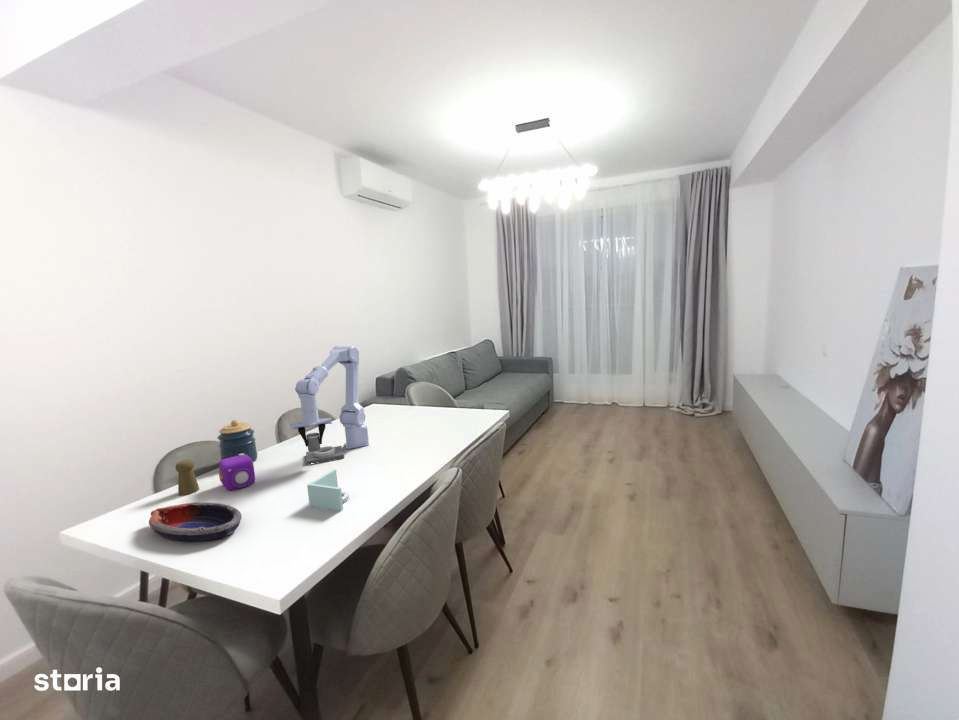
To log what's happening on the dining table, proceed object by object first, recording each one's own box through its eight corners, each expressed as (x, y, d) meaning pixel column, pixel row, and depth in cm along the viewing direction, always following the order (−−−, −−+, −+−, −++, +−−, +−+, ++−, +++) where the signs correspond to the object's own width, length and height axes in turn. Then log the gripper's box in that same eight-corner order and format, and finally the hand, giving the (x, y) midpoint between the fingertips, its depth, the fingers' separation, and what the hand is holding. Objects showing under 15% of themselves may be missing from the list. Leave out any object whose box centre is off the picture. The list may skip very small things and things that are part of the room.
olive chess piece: (197, 486, 147) (192, 456, 145) (201, 490, 142) (196, 460, 141) (176, 492, 143) (171, 461, 141) (179, 497, 138) (174, 466, 137)
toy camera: (232, 496, 137) (228, 468, 135) (215, 487, 145) (211, 460, 144) (265, 484, 145) (261, 457, 144) (247, 476, 154) (244, 450, 152)
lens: (320, 446, 161) (318, 431, 161) (320, 450, 157) (319, 435, 156) (307, 448, 160) (306, 433, 159) (308, 452, 156) (306, 437, 155)
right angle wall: (341, 512, 123) (339, 489, 122) (309, 507, 128) (307, 484, 127) (365, 494, 135) (363, 472, 133) (335, 490, 139) (333, 469, 138)
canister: (242, 468, 161) (236, 425, 158) (213, 467, 163) (207, 424, 161) (264, 456, 174) (259, 415, 171) (238, 455, 176) (232, 415, 174)
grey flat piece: (341, 449, 178) (340, 442, 177) (344, 458, 167) (343, 451, 166) (306, 455, 172) (305, 448, 172) (307, 465, 161) (306, 457, 161)
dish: (208, 554, 105) (205, 535, 104) (131, 535, 116) (128, 519, 115) (259, 522, 119) (257, 506, 119) (186, 509, 130) (184, 494, 129)
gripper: (288, 415, 150) (293, 451, 152) (330, 409, 155) (334, 444, 157) (288, 411, 156) (293, 445, 158) (329, 405, 162) (332, 438, 164)
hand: (313, 444), depth 158 cm, fingers closed on lens, 4 cm apart
